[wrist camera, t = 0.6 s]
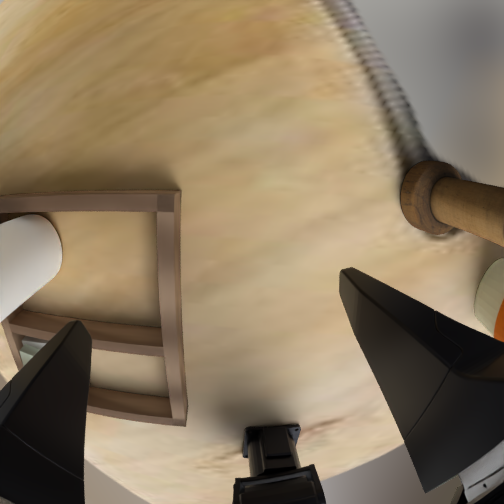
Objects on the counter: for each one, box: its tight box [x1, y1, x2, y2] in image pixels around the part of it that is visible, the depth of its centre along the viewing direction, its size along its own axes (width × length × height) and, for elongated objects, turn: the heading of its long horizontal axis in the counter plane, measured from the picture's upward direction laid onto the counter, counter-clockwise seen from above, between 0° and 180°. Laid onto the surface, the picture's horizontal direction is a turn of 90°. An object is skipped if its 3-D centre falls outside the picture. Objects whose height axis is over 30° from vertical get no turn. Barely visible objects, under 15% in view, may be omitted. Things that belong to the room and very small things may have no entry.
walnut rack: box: [0, 190, 188, 427], centre depth 22 cm, size 22×19×3 cm
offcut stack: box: [19, 336, 91, 386], centre depth 23 cm, size 7×6×4 cm
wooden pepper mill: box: [401, 161, 504, 247], centre depth 15 cm, size 7×6×18 cm
